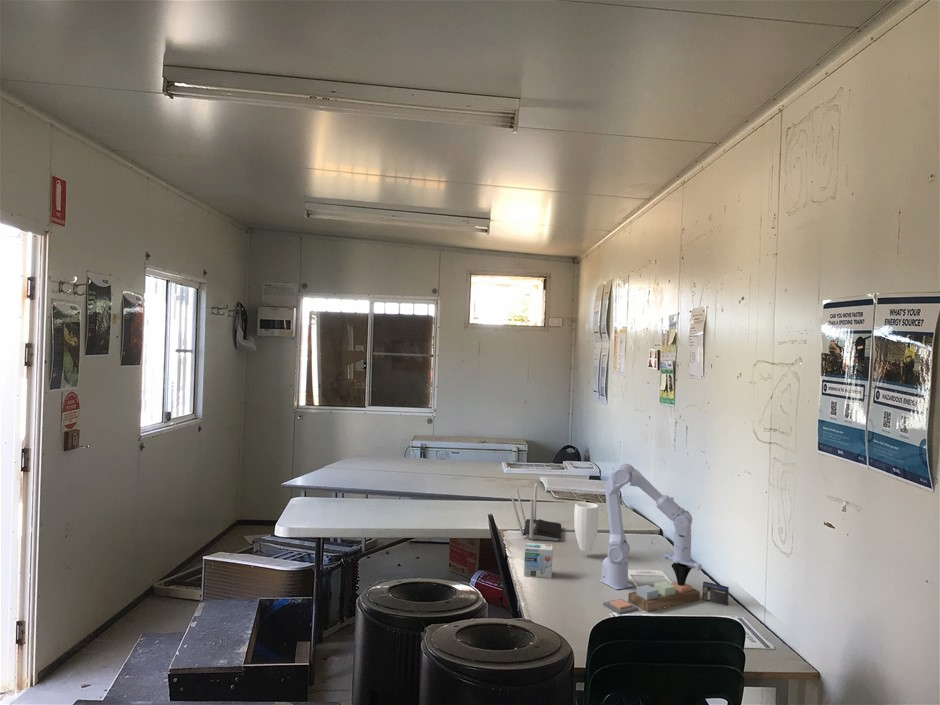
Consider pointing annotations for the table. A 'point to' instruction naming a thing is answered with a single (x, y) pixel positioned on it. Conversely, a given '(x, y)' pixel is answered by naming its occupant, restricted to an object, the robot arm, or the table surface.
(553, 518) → the table surface
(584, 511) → the cup
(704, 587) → the mini dv tape
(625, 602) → the tile
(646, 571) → the photo frame
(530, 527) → the wireless router
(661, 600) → the wooden block tray
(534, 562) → the light bulb box
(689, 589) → the block terracotta
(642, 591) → the block slate
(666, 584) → the block sage
